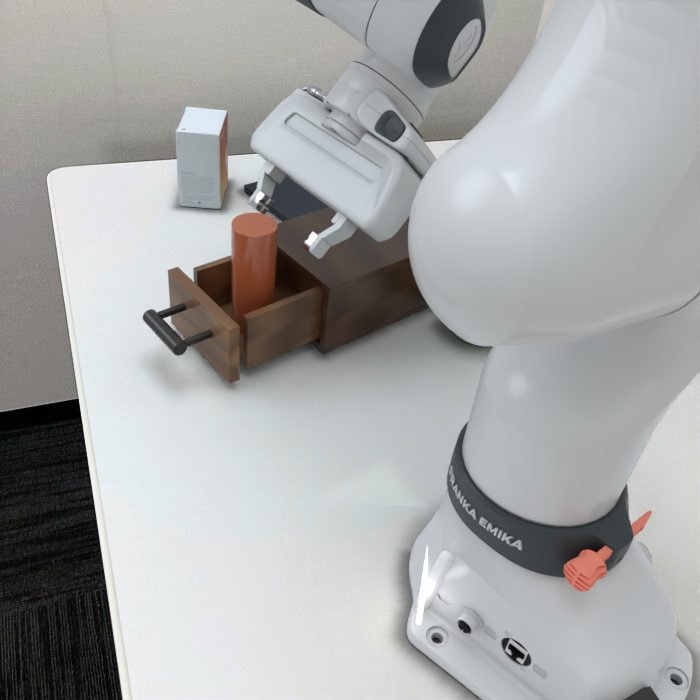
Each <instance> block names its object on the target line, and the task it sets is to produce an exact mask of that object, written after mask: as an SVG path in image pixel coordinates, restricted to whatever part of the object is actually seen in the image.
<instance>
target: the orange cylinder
mask: <svg viewBox="0 0 700 700" xmlns="http://www.w3.org/2000/svg"><path fill="white" fill-rule="evenodd" d="M277 223H278V222H277V220H276V219H275V218H274V217H272V216H271V215H268V214H267V213H266V214H262V213H260V212H244V213H241V214H238V215H236V216H235V217H234V218H233V219H232V220H231V224H230V226H231V228H230V231H231V232H230V235H231V236H230V238H231V243H230V245H231V246H230V247H231V249H230V253H231V254H230V255H231V270H232V319H233V320H234V321H235V322H236V323H237V324H238V325H239V326H240V333H241V334H243V315H244V314H247V313H249V312H252V311H255V310H257V309H260V308H262V307H265V306H268V305H270V304H273V303H275V285H276V260H277V235H278V224H277Z"/></svg>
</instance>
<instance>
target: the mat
mask: <svg viewBox="0 0 700 700" xmlns="http://www.w3.org/2000/svg"><path fill="white" fill-rule="evenodd" d="M257 183H258V180H257V181H254V182H251V183H247V184H244V186H243V192H244V193H245V194H246V195H248V196H249V197H251V196H252V194H253V193H254V192H255V190H256V189H257ZM270 199H272V200H273V201H274V202H275V203H274V204H273V205H272V207H271V208H269V210H268V212H270V213H271V214H272V215H273V216H274V217H276V218H277V219H279V220H280V221H281V222H284V221H287V220H290V219H293V218H296V217H299V216H303V215H306V214H309V213H312V212H315V211H318V210H321V209H324V208H328V207H329V206H327V205H326V204H325V203H323V202H322V201H320V200H319V199H318V198H316V197H315V196H314V195H312V194H311V193H309V192H308V191H307V190H305V189H304V188H303V187H301V186H300V185H298V184H297V183H296V182H294V181H293V180H292V179H290V178H289V177H287V176H286V177H285V178H284V179H283V181H282V182H281V183H280V184H278V183H277V182H276V184H275V187H274V190H273V193H272V197H271V198H270ZM409 219H410V215H409V217H408V218H407V221H408V222H409Z"/></svg>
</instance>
